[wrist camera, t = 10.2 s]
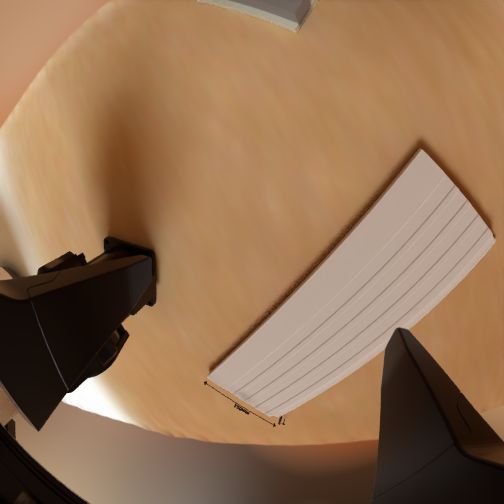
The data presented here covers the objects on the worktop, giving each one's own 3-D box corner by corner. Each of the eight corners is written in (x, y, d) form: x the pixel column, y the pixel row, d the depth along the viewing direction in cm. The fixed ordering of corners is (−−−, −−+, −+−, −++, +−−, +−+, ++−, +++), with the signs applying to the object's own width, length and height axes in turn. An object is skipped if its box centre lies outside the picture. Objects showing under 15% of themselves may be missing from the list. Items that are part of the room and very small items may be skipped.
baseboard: (498, 248, 18) (415, 148, 17) (514, 261, 15) (427, 149, 15) (288, 417, 32) (210, 368, 32) (283, 435, 29) (201, 385, 29)
